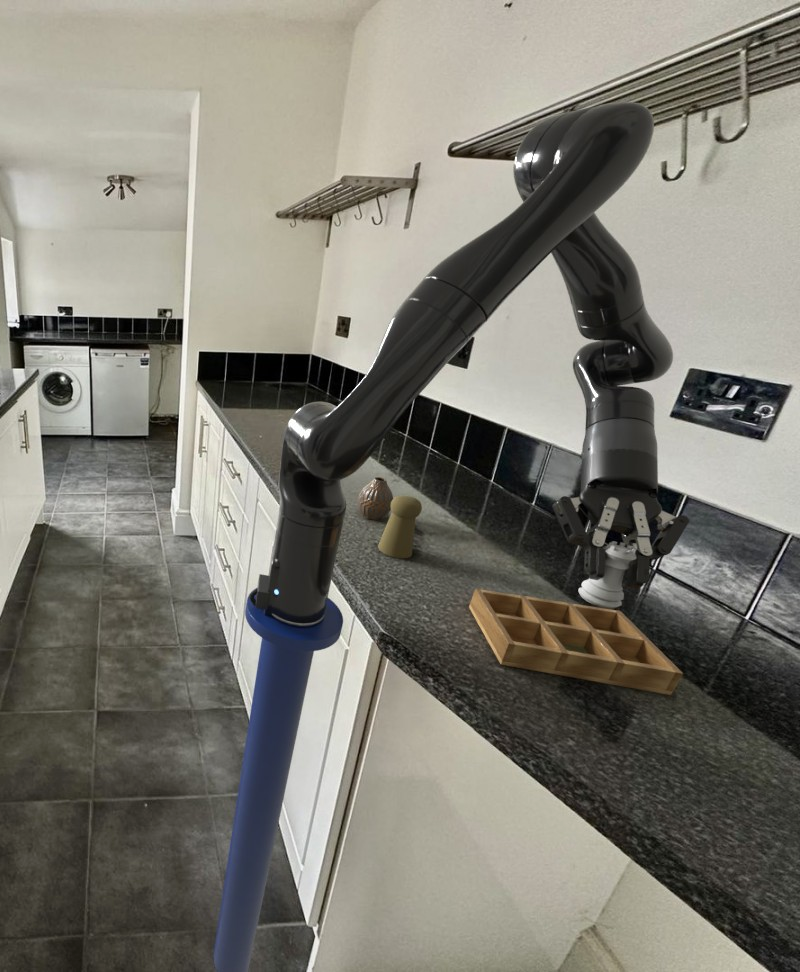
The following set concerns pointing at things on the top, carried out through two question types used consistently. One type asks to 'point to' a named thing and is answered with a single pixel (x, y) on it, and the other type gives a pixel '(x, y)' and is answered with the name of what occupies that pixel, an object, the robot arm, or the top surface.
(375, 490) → the vase
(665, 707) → the top surface
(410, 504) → the cork
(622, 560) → the rook chess piece
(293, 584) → the robot arm
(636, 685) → the grid
